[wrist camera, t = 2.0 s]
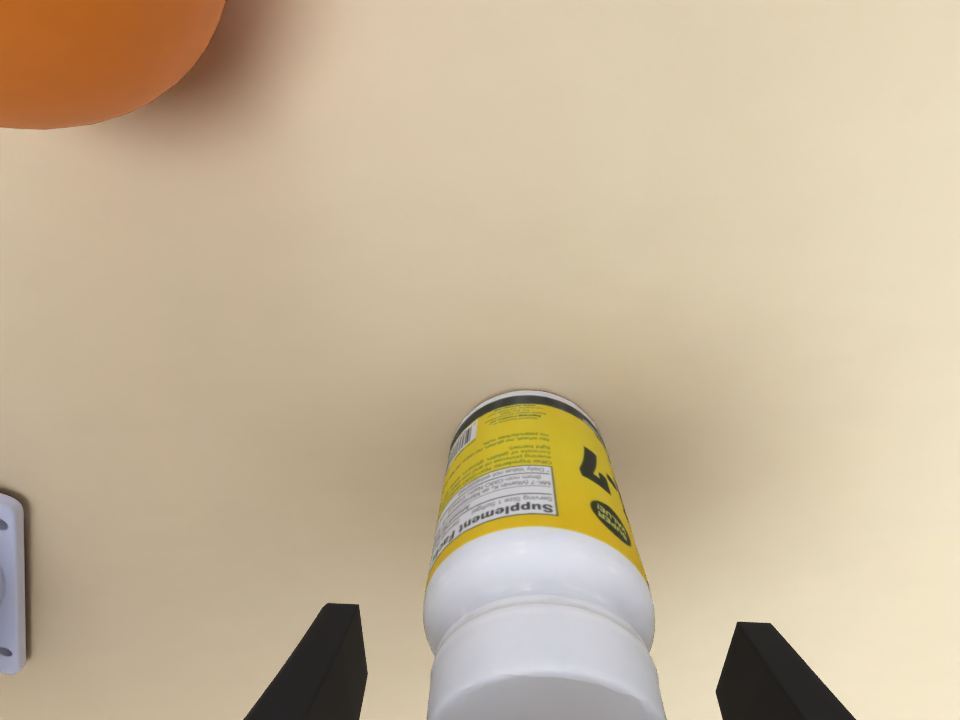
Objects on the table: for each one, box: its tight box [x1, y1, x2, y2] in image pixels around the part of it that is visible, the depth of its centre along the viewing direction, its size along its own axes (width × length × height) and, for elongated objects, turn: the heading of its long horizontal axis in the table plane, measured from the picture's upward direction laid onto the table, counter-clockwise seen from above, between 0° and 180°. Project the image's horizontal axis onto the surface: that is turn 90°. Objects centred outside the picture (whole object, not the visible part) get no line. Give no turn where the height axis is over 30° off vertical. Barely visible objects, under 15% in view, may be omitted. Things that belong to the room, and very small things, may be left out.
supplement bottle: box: [423, 390, 667, 720], centre depth 12 cm, size 5×5×8 cm
